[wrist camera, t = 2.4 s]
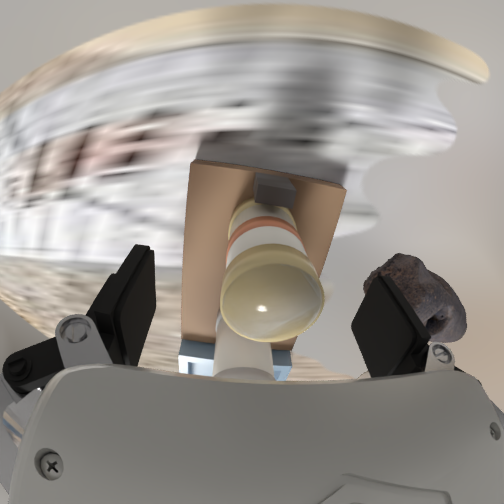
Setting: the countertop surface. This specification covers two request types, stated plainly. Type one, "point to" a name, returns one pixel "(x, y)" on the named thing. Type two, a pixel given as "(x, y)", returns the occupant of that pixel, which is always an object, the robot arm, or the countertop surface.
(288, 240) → the marked fuse
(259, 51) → the countertop surface
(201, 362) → the tray
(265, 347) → the grey rounded cylinder
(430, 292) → the perforated stone tool
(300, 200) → the fuse holder
